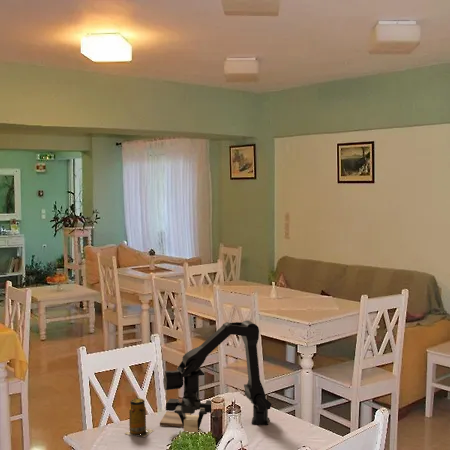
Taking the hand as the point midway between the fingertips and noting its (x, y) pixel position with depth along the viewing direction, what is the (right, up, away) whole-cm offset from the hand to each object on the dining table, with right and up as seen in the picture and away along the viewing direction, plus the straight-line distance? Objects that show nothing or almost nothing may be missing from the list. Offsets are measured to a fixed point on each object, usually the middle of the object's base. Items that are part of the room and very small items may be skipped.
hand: (191, 427), depth 228 cm
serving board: (-7, 0, +10) cm, 12 cm away
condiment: (-19, -1, -1) cm, 19 cm away
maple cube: (0, -1, 0) cm, 1 cm away
